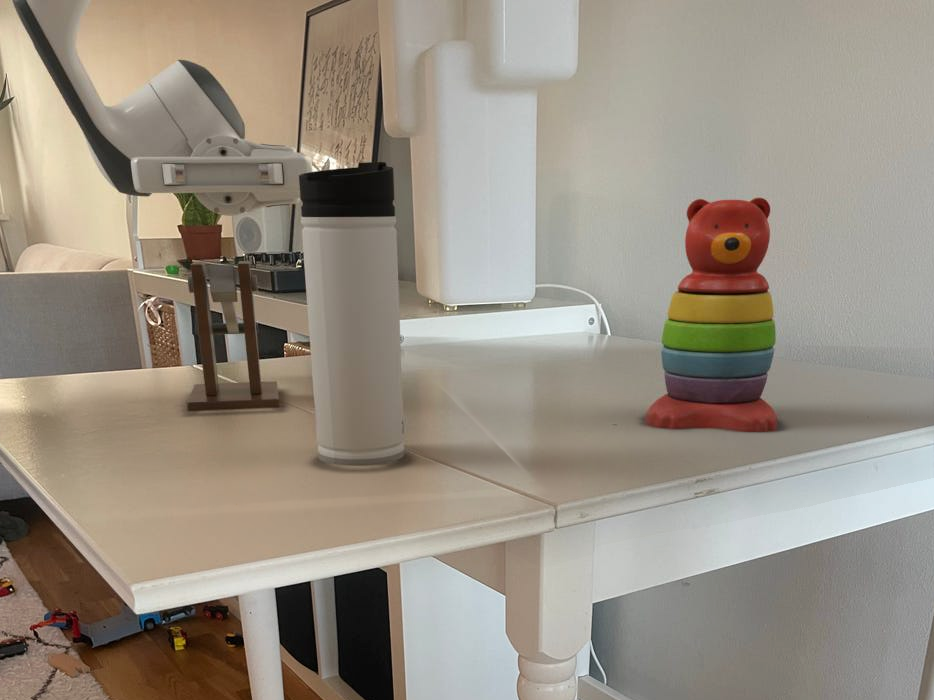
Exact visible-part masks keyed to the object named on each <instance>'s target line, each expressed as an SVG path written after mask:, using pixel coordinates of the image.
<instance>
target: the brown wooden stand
mask: <svg viewBox="0 0 934 700" xmlns="http://www.w3.org/2000/svg"><path fill="white" fill-rule="evenodd" d="M251 270H252V269H251V261H250V260H239V261H238V262H237V272H238V282H239V293H240V302H241V312H242V323H244V333H245V334H244V342H245V353H246V361H247V373H248V381H247V382H245V381H244V382H221V383H219V375H218V367H217V358H216V351H215V350H216V348H215V340H214V339H215V338H214V335H213V330H212V324H213V323H212V322H213V321H212V313H211V303H210V296H209V295H210V294H209V286H208V278H207V268H206V262H205V261H193V262H192V263H190V272H191V275H189V276H187V286H188V292H189V294H193V297H194V298H193V299H194V307H195V314H196V323H197V324H196V325H197V332H198V340H199V341H198V342H199V348H200V350H199V351H200V357H201V366H202V375H203V382H204V383H194V385H193V387H192V389H191V392H190V394H189V398H188V400H187V403H186V405H187V411H188V412H200V411H201V412H202V411H221V410H243V409H244V410H246V409H247V410H248V409H249V410H250V409H269V408H272V409H273V408H280V399H279V389H278V388H279V387H278V381H277V380H275V381H274V380H272V381H262V375H261V365H260V355H259V344H258V333H257V332H256V323H257V322H256V311H255V301H254V293H255V292H257V293H258V291H259V289H258V286H259V285H258V278H257V275H256V274H252V271H251Z"/></svg>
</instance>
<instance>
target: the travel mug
mask: <svg viewBox="0 0 934 700" xmlns="http://www.w3.org/2000/svg"><path fill="white" fill-rule="evenodd" d="M394 176H395V175H394V167H392V166H387V162H385V161H367V162H366V161H365V162H364V161H363V162H358V164H357V166H356V167H355V166H354V167H345V168H343V167H342V168H333V169H324V170H316V171H313V172H309V173H304V174H301V175H299V186H300V202H302V205H301V207H300V212H301V216H300V223H301V225H302V227H303V228H302V230H301V237H302V251H303V253H302V254H303V264H304V265H303V266H304V278H305V291H306V293H305V294H306V307H307V320H308V335H309V348H310V360H311V376H312V387H313V389H312V391H313V401H314V402H313V403H314V415H315V416H314V417H315V418H314V419H315V430H316V440H317V443H318V445H317V456H318V457H317V458H318V459H319V460H320V461H322V462H324V463H326V464H332V465H337V466H338V465H339V466H354V467H355V466H357V467H358V466H374V465H381V464H388V463H392V462H395V461H398V460H401V459H402V458H404V456H405V443H404V439H405V433H404V431H405V429H404V428H405V427H404V404H403V403H404V402H403V398H404V397H403V376H402V374H403V372H402V347H401V345H402V344H401V343H402V342H401V321H400V319H401V317H400V316H401V315H400V292H399V291H400V290H399V264H398V235H397V234H398V233H397V229H396V228H395V225H396V224H397V216H396V207H395V205H394V201H395V179H394V178H395V177H394Z"/></svg>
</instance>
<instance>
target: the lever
mask: <svg viewBox="0 0 934 700" xmlns="http://www.w3.org/2000/svg"><path fill="white" fill-rule="evenodd" d="M207 269H208V270H207V271H208V280H209V281H208V282H209V292H210V296H211V300H212V302H213V303H220V306H221V310H222V313H223V317H224V321H225V323H223V322H222V323H221V322H220V323H212V330H213V336H214V335H245V333H244V323H243V322H239V321H238V316H237V315H238V314H237V310H236V305H235V303H238V301H239V300H238V299H239V298H238V290H237V278H236V272H235V267H234V264H218V265H217V264H215V265H214V264H212V265H207ZM256 332H257V334H259V324H258V322H256Z"/></svg>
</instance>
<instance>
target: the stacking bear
mask: <svg viewBox="0 0 934 700" xmlns="http://www.w3.org/2000/svg"><path fill="white" fill-rule="evenodd" d="M770 214H771V205H770V203H769V202H768V200H766V199H765V198H763V197H754V198H752V199H751V200H749V201H748V200H743V199H719V200H715V201H712V202H709V201H707V200H706V199H704V198H696V199H694V200H693V201H692V202H691V203H690V204H689V205H688V207H687V210H686V217H687V220H688V226H687V228H686V231H685V239H684V240H685V241H684V246H685V254H686V258H687V261H688V264H689V266H690V268H691V269H692V271H691V273H690V274H687V275H686V276H685V277H683V278H682V279H681V281H680V282H679V284H678V286H677V291H675V292H674V293H672V297H671V300H670V303H669V307H668V311H667V319H666V320H665V322H664V326H663V331H662V337H661V345H662V347H661V349H660V352H661V363H662V369H663V370H664V382H665V388H666V392H667V393H666V394H664V395H662V396H661V397H659V398H658V399H657V400H655V401H654V402H653V403H652V404H651V405H650V407H649V408H648V410H647V413H646V418H645V419H646V420H645V424H646V425H647V426H650V427H654V428H658V429H670V430H681V429H682V430H683V429H698V428H699V429H700V428H702V429H705V428H707V429H721V430H730V431H735V432H736V431H737V432H744V433H752V432H753V433H754V432H755V433H766V432H772V431H775V430H777V426H778V418H777V414H776V412H775V410H774V408H773V407H772V406H771V405H770V404H769V403H768V402H767V401H766V400H765V399H763V398H762V397H761V396H762V395H763V392H764V389H765V387H766V383H767V380H768V377H769V376H768V375H769V374H768V372H769V371H770V370H771V367H772V363H773V360H774V354H775V348H774V346H775V344H776V342H777V341H776V338H777V337H776V336H777V335H776V322H775V320H774V319H773V318H774V304H773V299H772V295H771V292H770V291H769V289H770V285H769V282H768V280H767V279H766V277H765V276H764V275H763V274H761V273H759V272H758V269H759V267H760V266H761V265H762V263H763V261H764V260H765V257H766V254H767V252H768V249H769V245H770V240H771V239H770V238H771V229H770V223H769V220H768V218H769V217H770Z"/></svg>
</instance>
